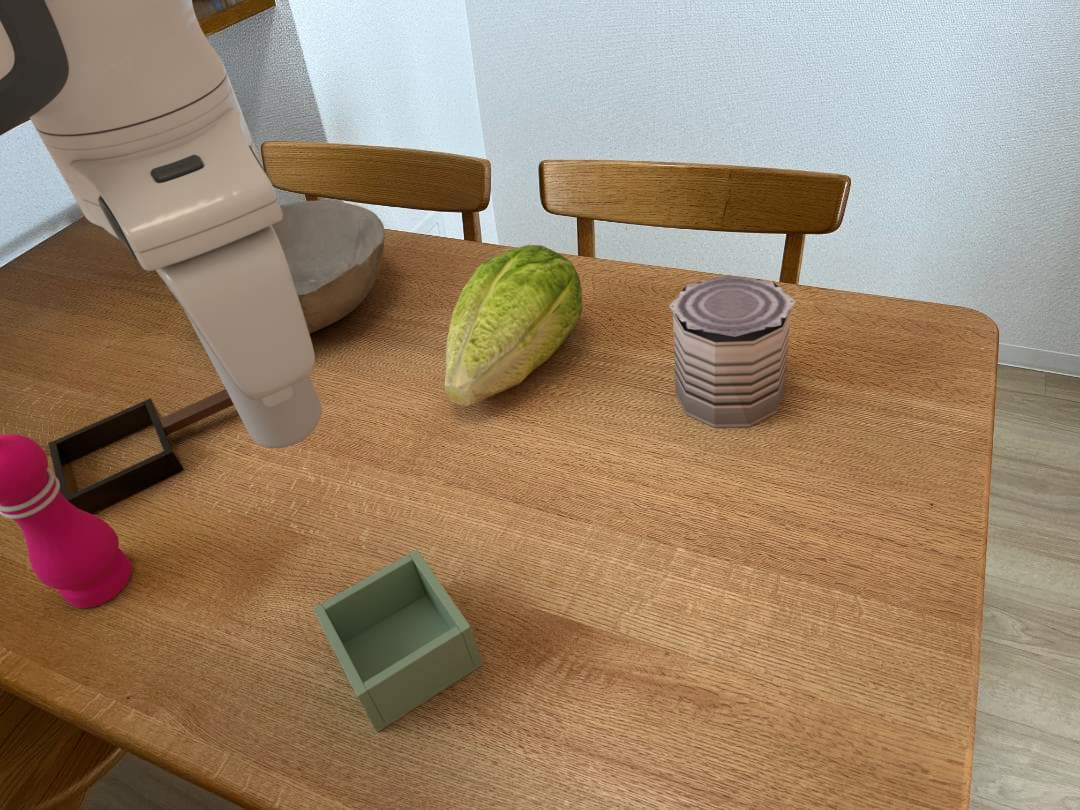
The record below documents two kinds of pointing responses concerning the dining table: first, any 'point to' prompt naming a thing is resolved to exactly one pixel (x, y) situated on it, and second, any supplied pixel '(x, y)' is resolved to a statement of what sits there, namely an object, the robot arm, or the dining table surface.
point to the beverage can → (273, 410)
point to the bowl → (330, 256)
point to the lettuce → (509, 321)
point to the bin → (398, 638)
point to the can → (731, 349)
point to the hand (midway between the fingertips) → (261, 372)
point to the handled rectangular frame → (116, 429)
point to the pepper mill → (59, 529)
